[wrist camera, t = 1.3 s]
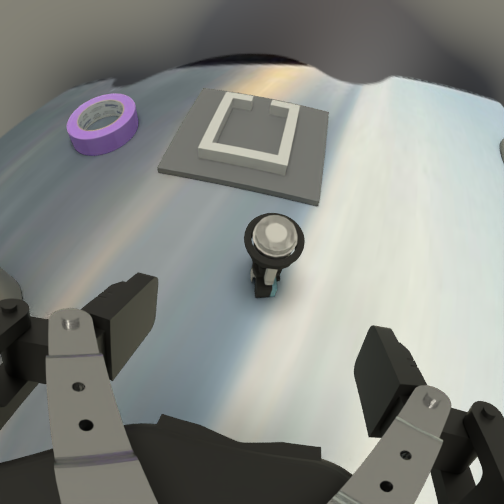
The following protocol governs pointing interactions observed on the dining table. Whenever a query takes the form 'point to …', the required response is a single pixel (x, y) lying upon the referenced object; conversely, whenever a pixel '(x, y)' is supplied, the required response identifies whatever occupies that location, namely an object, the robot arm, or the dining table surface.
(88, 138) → the masking tape
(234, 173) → the plate
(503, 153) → the frisbee
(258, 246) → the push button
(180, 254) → the dining table surface
